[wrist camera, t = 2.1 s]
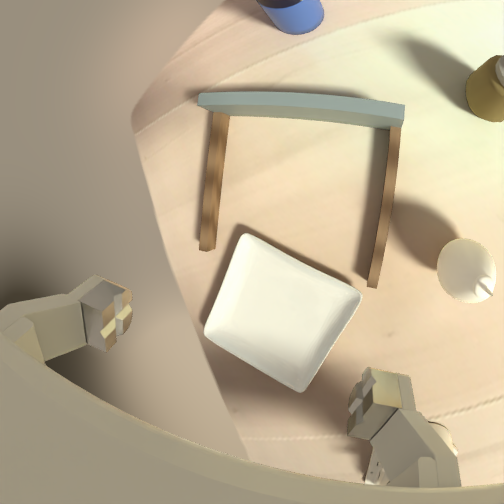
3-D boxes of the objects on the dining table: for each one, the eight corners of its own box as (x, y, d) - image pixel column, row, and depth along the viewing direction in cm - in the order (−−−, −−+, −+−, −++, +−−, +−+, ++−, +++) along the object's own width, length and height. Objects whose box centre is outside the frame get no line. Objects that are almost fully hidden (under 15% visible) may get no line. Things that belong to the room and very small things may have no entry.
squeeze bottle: (472, 132, 36) (518, 101, 19) (451, 83, 35) (481, 32, 19) (511, 121, 32) (565, 91, 16) (490, 74, 32) (531, 26, 16)
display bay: (376, 283, 46) (376, 299, 38) (207, 247, 56) (182, 255, 48) (400, 119, 40) (404, 104, 32) (223, 104, 50) (199, 93, 43)
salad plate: (249, 227, 52) (240, 230, 49) (366, 287, 47) (365, 294, 44) (209, 328, 59) (200, 335, 56) (307, 385, 53) (302, 395, 50)
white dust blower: (426, 281, 42) (450, 328, 26) (434, 230, 41) (467, 250, 24) (471, 287, 40) (511, 334, 23) (480, 237, 38) (530, 261, 22)
